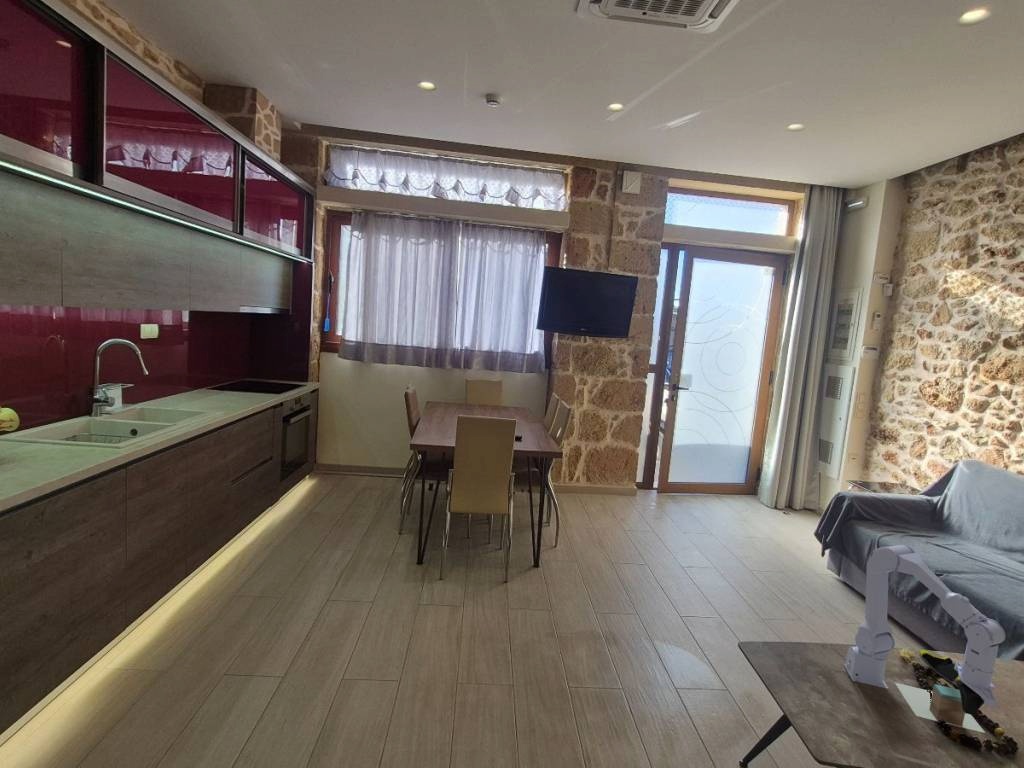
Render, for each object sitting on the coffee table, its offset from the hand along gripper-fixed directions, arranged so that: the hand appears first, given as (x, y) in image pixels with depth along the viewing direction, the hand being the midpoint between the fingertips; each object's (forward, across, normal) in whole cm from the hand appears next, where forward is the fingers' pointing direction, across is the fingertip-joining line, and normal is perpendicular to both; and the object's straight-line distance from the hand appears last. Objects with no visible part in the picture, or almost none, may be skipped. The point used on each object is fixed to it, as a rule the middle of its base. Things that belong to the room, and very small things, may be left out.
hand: (968, 712), depth 132 cm
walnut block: (+8, +8, 0) cm, 12 cm away
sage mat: (+9, +13, 0) cm, 16 cm away
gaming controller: (+9, +30, -11) cm, 33 cm away
